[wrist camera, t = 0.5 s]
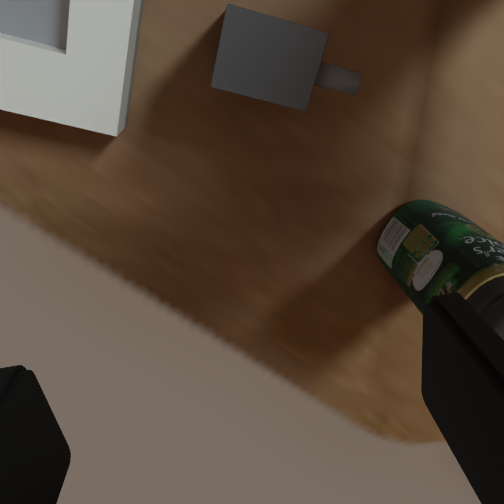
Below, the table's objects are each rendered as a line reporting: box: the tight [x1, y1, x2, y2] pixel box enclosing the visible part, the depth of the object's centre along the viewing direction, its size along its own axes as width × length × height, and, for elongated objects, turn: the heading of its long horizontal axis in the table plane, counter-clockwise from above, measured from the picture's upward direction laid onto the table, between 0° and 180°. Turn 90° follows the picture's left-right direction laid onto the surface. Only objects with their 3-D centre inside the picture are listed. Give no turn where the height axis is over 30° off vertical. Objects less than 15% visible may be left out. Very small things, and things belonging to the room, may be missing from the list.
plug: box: [211, 4, 362, 112], centre depth 31 cm, size 4×9×10 cm, turn 76°
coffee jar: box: [377, 200, 504, 340], centre depth 35 cm, size 10×8×19 cm
